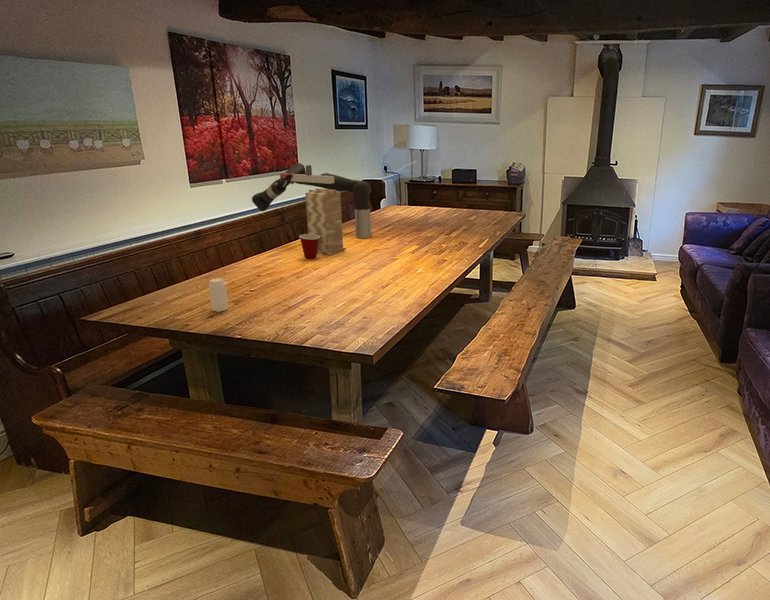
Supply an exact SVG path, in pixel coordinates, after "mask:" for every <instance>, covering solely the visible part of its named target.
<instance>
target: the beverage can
mask: <svg viewBox="0 0 770 600" xmlns="http://www.w3.org/2000/svg"><path fill="white" fill-rule="evenodd" d="M208 292H209V299H210V300H209V301H210V306H211V307H210V308H211V310H212V311H214V312H215V311H216V313H221V311H223V312H225V311H227V310H228V309H229V302H228V301H229V298H228V294H227V293H228V292H227V285H226V282H225V280H224V278H221V277H218V278H217V277H216V278H212V279H210V280H209V283H208Z"/></svg>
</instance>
